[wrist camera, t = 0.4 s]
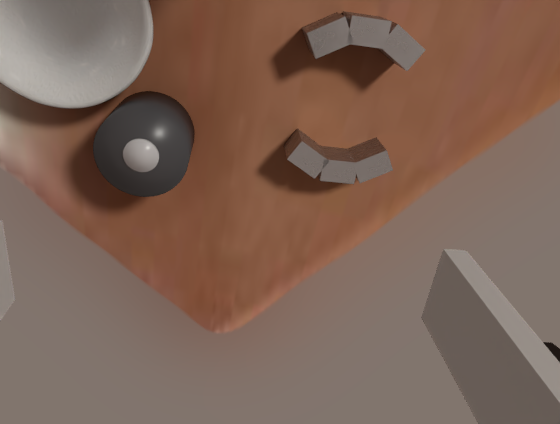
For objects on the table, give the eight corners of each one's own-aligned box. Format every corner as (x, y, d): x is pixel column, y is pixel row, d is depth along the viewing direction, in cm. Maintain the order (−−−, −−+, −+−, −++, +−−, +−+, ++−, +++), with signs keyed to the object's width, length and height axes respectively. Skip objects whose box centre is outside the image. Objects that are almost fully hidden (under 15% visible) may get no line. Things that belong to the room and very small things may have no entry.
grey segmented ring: (304, 5, 33) (310, 9, 30) (416, 22, 34) (431, 27, 31) (281, 162, 38) (284, 177, 36) (378, 172, 39) (388, 187, 37)
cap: (110, 86, 35) (90, 104, 30) (196, 96, 35) (190, 116, 31) (111, 165, 37) (94, 193, 33) (192, 173, 38) (185, 201, 34)
